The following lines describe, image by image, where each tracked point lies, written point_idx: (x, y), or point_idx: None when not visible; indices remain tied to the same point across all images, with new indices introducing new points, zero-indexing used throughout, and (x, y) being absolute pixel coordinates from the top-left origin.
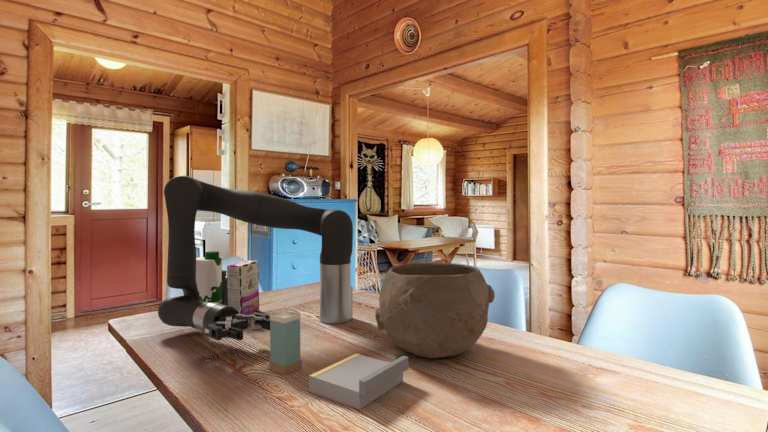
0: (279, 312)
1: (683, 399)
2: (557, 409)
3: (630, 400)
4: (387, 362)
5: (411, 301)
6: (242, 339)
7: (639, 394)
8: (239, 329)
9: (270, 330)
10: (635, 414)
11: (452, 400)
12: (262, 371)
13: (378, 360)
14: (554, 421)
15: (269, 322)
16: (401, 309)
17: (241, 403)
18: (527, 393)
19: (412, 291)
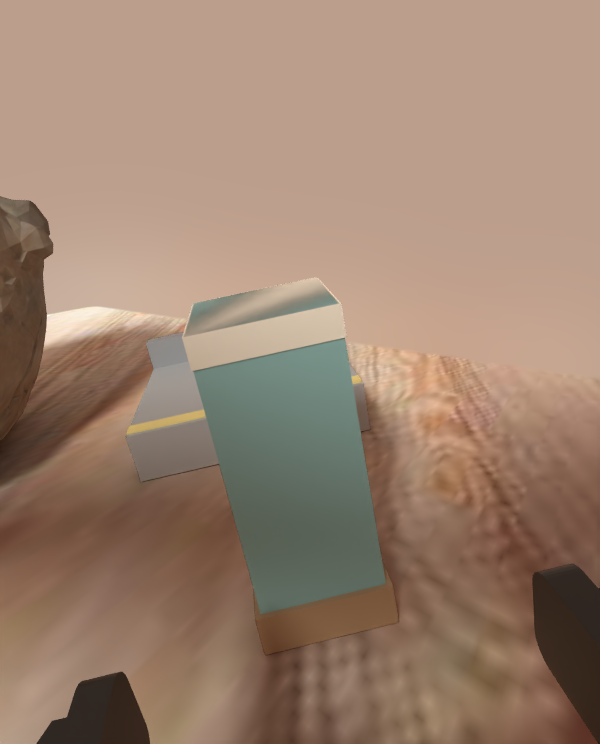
0: (248, 323)
1: (55, 324)
2: (145, 330)
3: (79, 329)
4: (150, 384)
5: (45, 223)
6: (542, 648)
7: (56, 332)
8: (573, 595)
9: (355, 407)
10: (117, 319)
11: None
12: (443, 618)
13: (148, 395)
14: (179, 322)
15: (115, 715)
16: (22, 268)
17: (597, 440)
18: (111, 349)
19: (14, 200)
